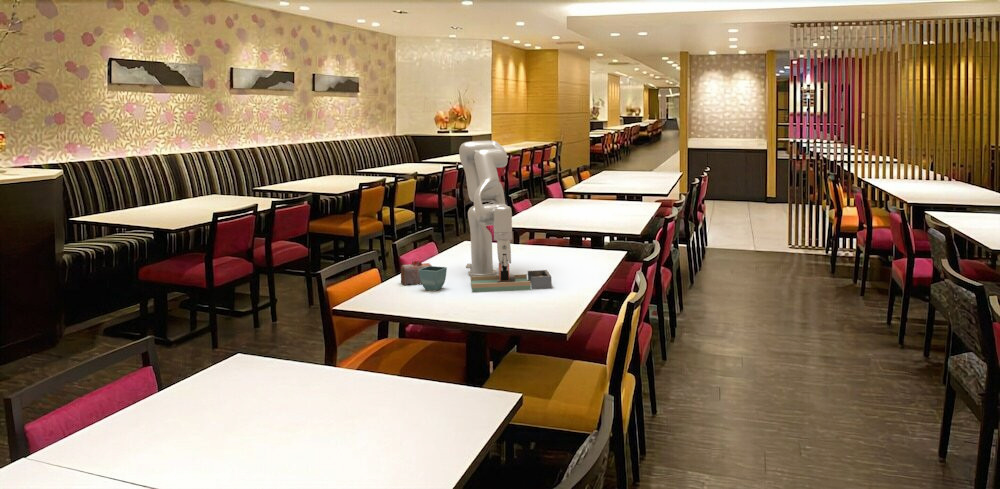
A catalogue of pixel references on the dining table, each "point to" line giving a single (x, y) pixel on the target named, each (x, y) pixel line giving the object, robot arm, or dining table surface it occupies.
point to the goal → (539, 279)
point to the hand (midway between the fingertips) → (504, 278)
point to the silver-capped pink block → (511, 276)
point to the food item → (412, 272)
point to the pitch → (491, 283)
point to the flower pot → (433, 277)
